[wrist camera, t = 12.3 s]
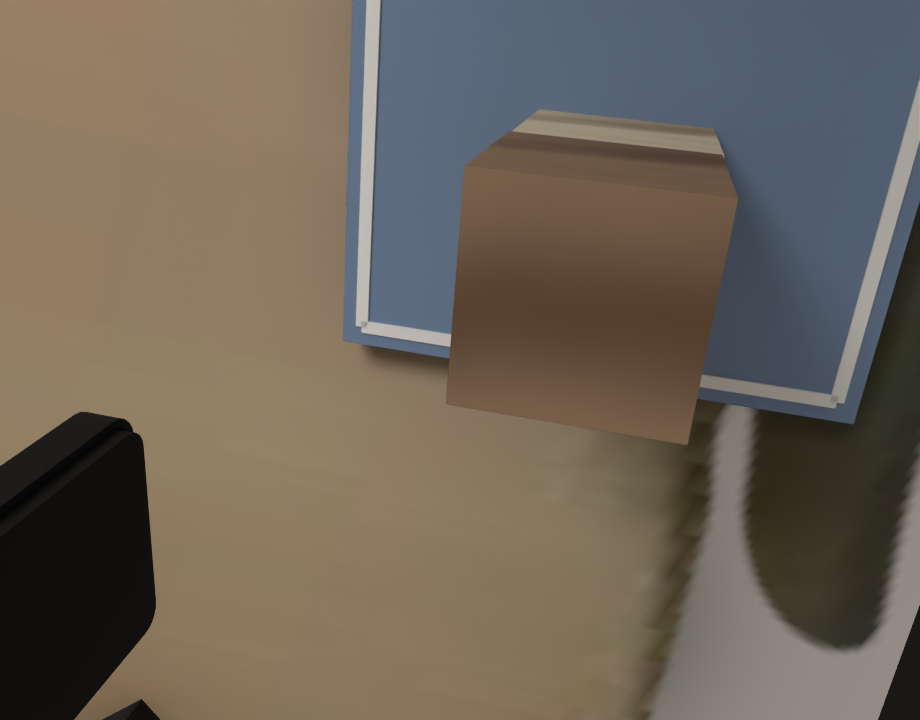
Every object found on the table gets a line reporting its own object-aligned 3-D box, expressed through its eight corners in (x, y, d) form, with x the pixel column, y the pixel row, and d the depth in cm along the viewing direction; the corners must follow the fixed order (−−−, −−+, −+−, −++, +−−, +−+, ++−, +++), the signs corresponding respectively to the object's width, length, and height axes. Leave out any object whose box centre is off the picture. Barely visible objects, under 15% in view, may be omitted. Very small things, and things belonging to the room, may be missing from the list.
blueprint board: (371, -158, 29) (355, -166, 28) (998, -121, 26) (1018, -129, 25) (354, 328, 37) (342, 341, 35) (846, 407, 33) (854, 425, 32)
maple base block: (539, 109, 30) (510, 131, 25) (713, 128, 29) (724, 156, 24) (520, 272, 32) (491, 325, 27) (681, 295, 31) (684, 355, 26)
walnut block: (508, 131, 25) (464, 165, 19) (722, 154, 24) (738, 198, 18) (490, 324, 27) (446, 404, 22) (683, 353, 26) (687, 445, 21)
